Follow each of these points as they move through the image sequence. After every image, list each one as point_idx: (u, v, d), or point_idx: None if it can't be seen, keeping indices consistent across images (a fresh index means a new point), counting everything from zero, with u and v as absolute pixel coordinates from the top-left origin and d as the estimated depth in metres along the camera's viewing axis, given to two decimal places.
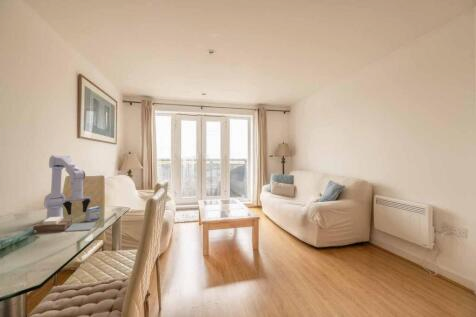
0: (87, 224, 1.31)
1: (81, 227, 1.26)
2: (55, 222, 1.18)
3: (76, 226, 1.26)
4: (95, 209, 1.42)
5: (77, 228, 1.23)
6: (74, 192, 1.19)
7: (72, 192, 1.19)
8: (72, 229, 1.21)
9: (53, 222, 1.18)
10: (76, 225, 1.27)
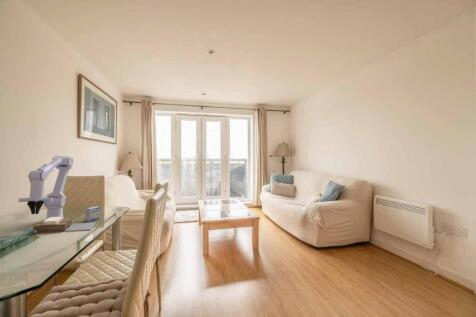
0: (87, 224, 1.31)
1: (81, 227, 1.26)
2: (55, 222, 1.18)
3: (76, 226, 1.26)
4: (95, 209, 1.42)
5: (77, 228, 1.23)
6: (30, 192, 1.16)
7: (30, 192, 1.16)
8: (72, 229, 1.21)
9: (53, 222, 1.18)
10: (76, 225, 1.27)
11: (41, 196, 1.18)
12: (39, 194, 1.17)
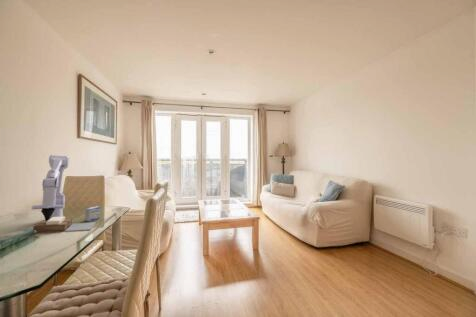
0: (87, 224, 1.31)
1: (81, 227, 1.26)
2: (58, 222, 1.19)
3: (76, 226, 1.26)
4: (95, 209, 1.42)
5: (77, 228, 1.23)
6: (43, 200, 1.18)
7: None
8: (72, 229, 1.21)
9: (56, 222, 1.18)
10: (76, 225, 1.27)
11: (53, 203, 1.20)
12: (51, 201, 1.19)
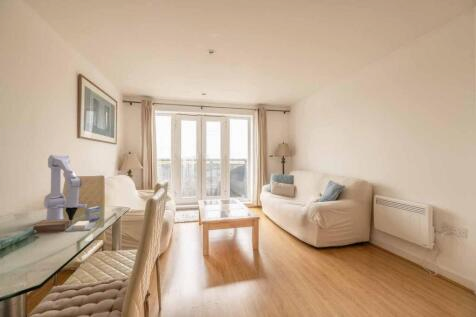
0: None
1: None
2: (74, 227, 1.22)
3: None
4: (95, 209, 1.42)
5: None
6: (67, 200, 1.22)
7: None
8: (72, 229, 1.21)
9: (75, 227, 1.22)
10: None
11: (76, 203, 1.25)
12: (75, 201, 1.24)
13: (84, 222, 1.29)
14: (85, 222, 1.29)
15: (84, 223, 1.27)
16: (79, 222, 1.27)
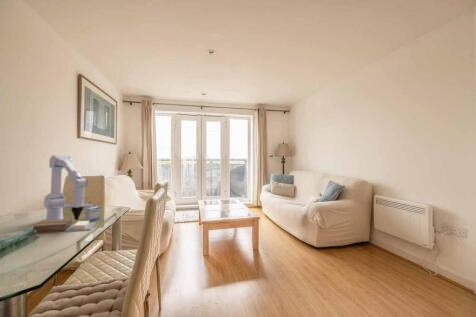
0: None
1: None
2: (74, 227, 1.22)
3: None
4: (95, 209, 1.42)
5: None
6: (73, 200, 1.24)
7: (72, 199, 1.24)
8: (72, 229, 1.21)
9: (75, 227, 1.22)
10: None
11: (82, 203, 1.26)
12: (81, 201, 1.25)
13: (84, 222, 1.29)
14: (85, 222, 1.29)
15: (84, 223, 1.27)
16: (79, 222, 1.27)
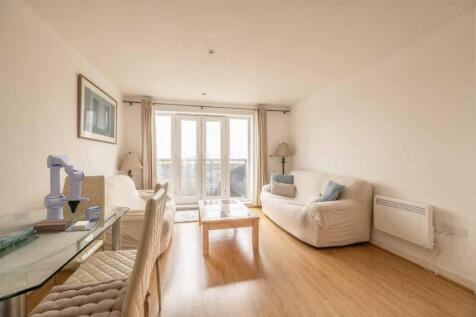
0: None
1: None
2: (74, 227, 1.22)
3: None
4: (95, 209, 1.42)
5: None
6: (69, 193, 1.23)
7: (69, 192, 1.24)
8: (72, 229, 1.21)
9: (75, 227, 1.22)
10: None
11: (79, 196, 1.26)
12: (77, 194, 1.24)
13: (84, 222, 1.29)
14: (85, 222, 1.29)
15: (84, 223, 1.27)
16: (79, 222, 1.27)
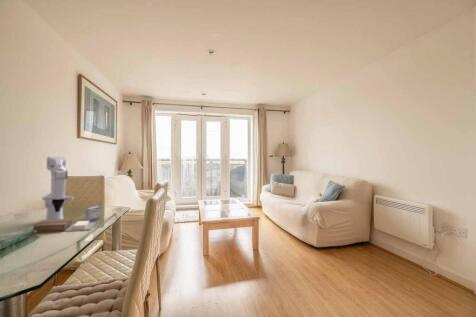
0: None
1: None
2: (74, 227, 1.22)
3: None
4: (95, 209, 1.42)
5: None
6: (53, 191, 1.23)
7: (53, 191, 1.24)
8: (72, 229, 1.21)
9: (75, 227, 1.22)
10: None
11: (63, 195, 1.25)
12: (61, 193, 1.24)
13: (84, 222, 1.29)
14: (85, 222, 1.29)
15: (84, 223, 1.27)
16: (79, 222, 1.27)
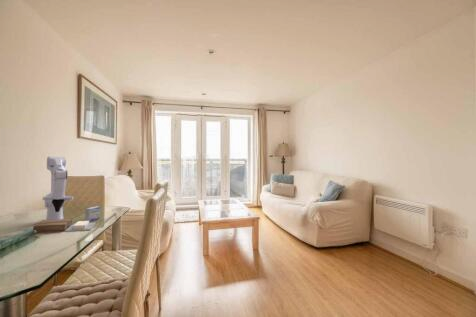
0: None
1: None
2: (74, 227, 1.22)
3: None
4: (95, 209, 1.42)
5: None
6: (53, 191, 1.23)
7: (53, 191, 1.24)
8: (72, 229, 1.21)
9: (75, 227, 1.22)
10: None
11: (63, 195, 1.25)
12: (61, 193, 1.24)
13: (84, 222, 1.29)
14: (85, 222, 1.29)
15: (84, 223, 1.27)
16: (79, 222, 1.27)
